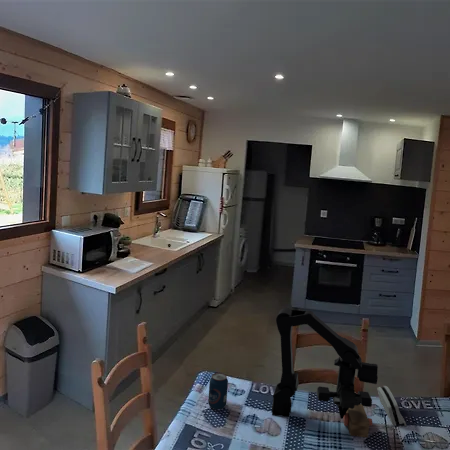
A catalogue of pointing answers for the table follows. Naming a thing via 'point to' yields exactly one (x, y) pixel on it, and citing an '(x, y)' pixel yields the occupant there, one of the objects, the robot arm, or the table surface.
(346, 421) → the pin
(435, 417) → the table surface
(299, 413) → the table surface
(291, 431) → the table surface
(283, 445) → the table surface
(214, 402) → the soda can
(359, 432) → the block
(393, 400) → the white curved piece
